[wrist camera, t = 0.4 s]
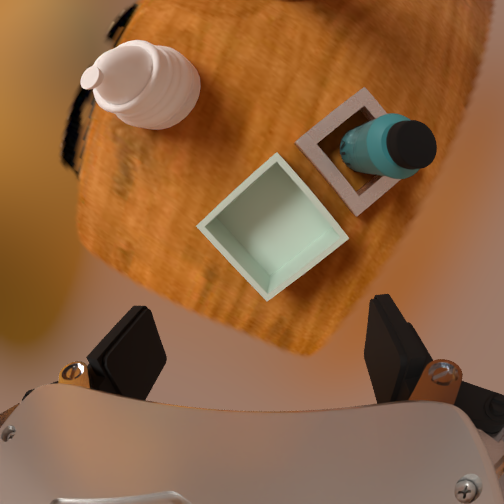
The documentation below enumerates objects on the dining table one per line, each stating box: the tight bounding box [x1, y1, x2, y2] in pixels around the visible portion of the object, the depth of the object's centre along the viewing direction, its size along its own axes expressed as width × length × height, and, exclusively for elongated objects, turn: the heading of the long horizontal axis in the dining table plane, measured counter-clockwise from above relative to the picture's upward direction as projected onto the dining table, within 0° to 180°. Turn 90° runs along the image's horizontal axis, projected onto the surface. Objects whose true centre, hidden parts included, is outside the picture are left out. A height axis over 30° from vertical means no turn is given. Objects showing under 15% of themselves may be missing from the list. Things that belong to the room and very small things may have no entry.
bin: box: [196, 153, 349, 301], centre depth 37 cm, size 14×14×7 cm
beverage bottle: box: [340, 113, 437, 179], centre depth 26 cm, size 6×7×20 cm
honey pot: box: [81, 40, 201, 130], centre depth 27 cm, size 13×13×18 cm
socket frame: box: [294, 87, 401, 217], centre depth 34 cm, size 13×13×3 cm
